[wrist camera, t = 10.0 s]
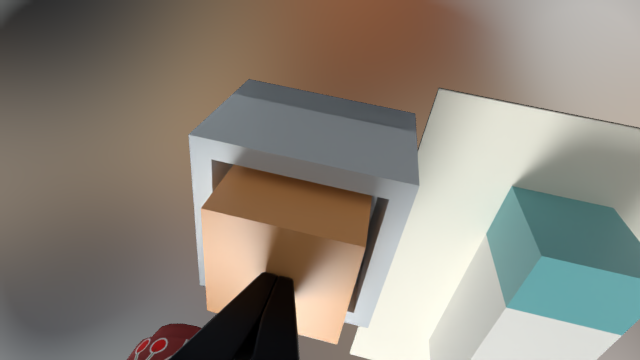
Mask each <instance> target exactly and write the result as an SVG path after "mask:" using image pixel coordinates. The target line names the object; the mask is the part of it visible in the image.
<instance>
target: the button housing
mask: <svg viewBox="0 0 640 360" xmlns="http://www.w3.org/2000/svg"><path fill="white" fill-rule="evenodd" d="M189 147H190V160H191V174H192V188H193V201H194V214H195V228H196V241H197V254H198V268H199V281H200V285H201V286H205V270H204V253H203V237H202V221H201V207H202V206H203V205H204V203H205V202H206V201H207V199H208V198H209V197H210V195H211V194H212V193H213V191H214V190H215V189H216V187H217V186H218V185H219V183H220V182H221V181H222V179H223V178H224V177H225V175H226V174H227V173H228V171H229V170H230V169H231V167H232V166H233V165H234V164H235V165H239V166H243V167H248V168H252V169H257V170H261V171H265V172H270V173H274V174H279V175H283V176H288V177H292V178H296V179H301V180H305V181H310V182H314V183H318V184H323V185H327V186H332V187H336V188H341V189H345V190H349V191H354V192H358V193H363V194H367V195H371V196H372V202H371V210H370V218H369V226H368V234H367V242H366V249H365V252H364V255H363V259H362V262H361V266H360V269H359V272H358V276H357V279H356V282H355V286H354V289H353V293H352V296H351V299H350V303H349V306H348V310H347V313H346V316H345V320H344V322H346V323H350V324H354V325H357V326H361V327H365V328H368V327H369V324H370V321H371V318H372V315H373V313H374V310H375V307H376V304H377V302H378V299H379V296H380V293H381V291H382V288H383V285H384V282H385V280H386V277H387V274H388V271H389V269H390V266H391V263H392V260H393V258H394V255H395V252H396V249H397V247H398V244H399V241H400V238H401V236H402V233H403V230H404V227H405V225H406V222H407V219H408V216H409V214H410V211H411V208H412V205H413V203H414V200H415V197H416V194H417V192H418V189H419V186H420V185H419V168H418V152H417V136H416V118H415V113H410V112H405V111H400V110H395V109H391V108H386V107H381V106H376V105H371V104H367V103H362V102H357V101H352V100H347V99H343V98H337V97H333V96H328V95H323V94H318V93H314V92H309V91H303V90H299V89H294V88H289V87H284V86H280V85H275V84H270V83H265V82H260V81H256V80H250V79H249V80H247V81H246V82H245V83H244V84H243V85H242V86H241V87H240V88H239V89H238V90H237V91H235V92H234V93H233V94H232V95H231V96H230V97H229V98H228V99H227V100H226V101H225V102H223V103H222V104H221V105H220V106H219V107H218V108H217V109H216V110H215V111H214V112H213V113H212V114H211V115H209V116H208V117H207V118H206V119H205V120H204V121H203V122H202V123H201V124H200V125H198V126H197V127H196V128H195V129H194V130H193V131H192V132H191V133H190V134H189ZM205 287H206V286H205Z"/></svg>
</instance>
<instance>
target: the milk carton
mask: <svg viewBox="0 0 640 360" xmlns="http://www.w3.org/2000/svg"><path fill="white" fill-rule="evenodd" d="M639 319H640V242H639V240H638V239H637V238H636V236H635V235H634V234H633V233H632V231H631V230H630V229H629V227H628V226H627V225H626V223H625V222H624V221H623V220H622V218H621V217H620V216H619V214H618V213H617V212H616V210H615V209H614V208H612V207H607V206H602V205H598V204H593V203H588V202H584V201H579V200H574V199H570V198H565V197H561V196H556V195H551V194H547V193H542V192H537V191H533V190H528V189H523V188H519V187H514V186H511V188H510V190H509V192H508V194H507V195H506V197H505V199H504V201H503V203H502V205H501V207H500V209H499V210H498V212H497V214H496V216H495V218H494V220H493V222H492V223H491V225H490V227H489V229H488V231H487V233H486V235H485V236H484V238H483V240H482V242H481V244H480V246H479V248H478V249H477V251H476V253H475V255H474V257H473V259H472V261H471V263H470V264H469V266H468V268H467V270H466V272H465V274H464V276H463V277H462V279H461V281H460V283H459V285H458V287H457V289H456V290H455V292H454V294H453V296H452V298H451V300H450V302H449V303H448V305H447V307H446V309H445V311H444V313H443V315H442V317H441V318H440V320H439V322H438V324H437V326H436V328H435V330H434V331H433V333H432V335H431V337H430V339H429V351H430V360H597V359H598V358H599V357H600V356H601V355H602V354H603V353H604V352H605V351H606V350H607V349H608V348H609V347H610V346H611V345H612V344H613V343H615V342H616V341H617V340H618V339H619V338H620V337H621V336H622V335H623V334H624V333H625V332H626V331H627V330H628V329H629V328H630V327H631V326H632V325H633V324H634V323H636V322H637V321H638V320H639Z"/></svg>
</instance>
